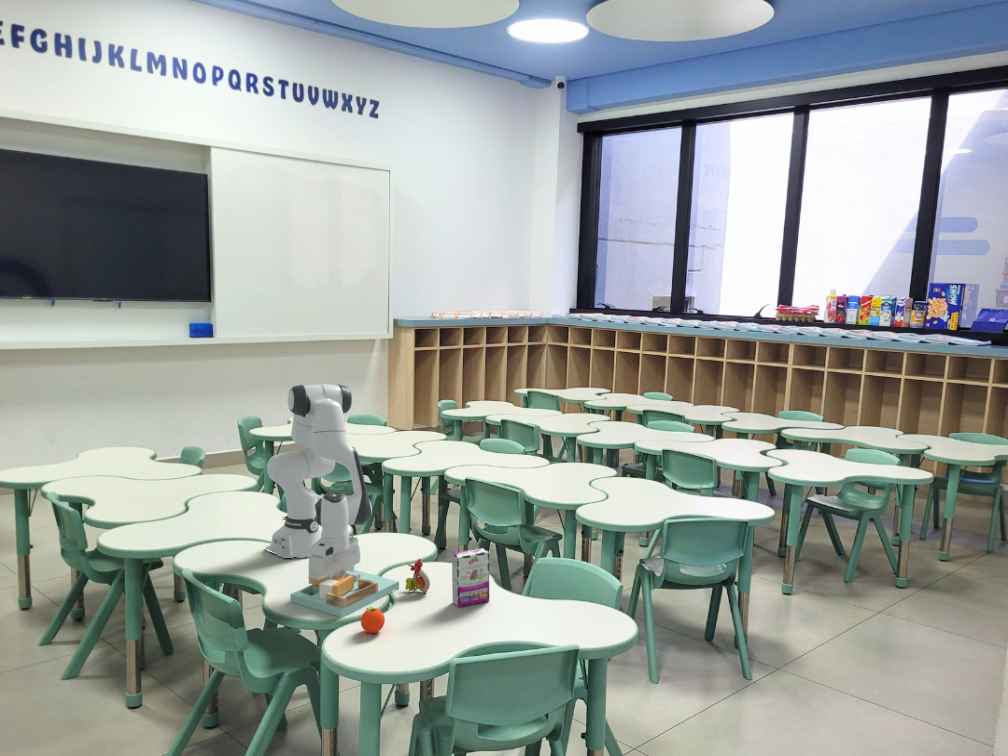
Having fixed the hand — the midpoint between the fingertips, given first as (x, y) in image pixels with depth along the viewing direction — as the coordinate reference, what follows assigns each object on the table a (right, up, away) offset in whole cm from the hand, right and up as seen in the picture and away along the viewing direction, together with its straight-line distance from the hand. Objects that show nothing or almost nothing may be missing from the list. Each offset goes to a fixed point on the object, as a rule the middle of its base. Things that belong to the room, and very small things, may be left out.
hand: (335, 584), depth 249 cm
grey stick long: (+4, 0, +8) cm, 8 cm away
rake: (-3, -1, -2) cm, 4 cm away
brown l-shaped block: (+7, -2, -7) cm, 10 cm away
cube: (0, -2, -7) cm, 7 cm away
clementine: (+16, -7, -26) cm, 31 cm away
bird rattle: (+27, -4, +4) cm, 27 cm away
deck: (+3, -4, +1) cm, 5 cm away
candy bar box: (+44, -5, -4) cm, 44 cm away
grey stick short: (0, 0, +12) cm, 12 cm away
